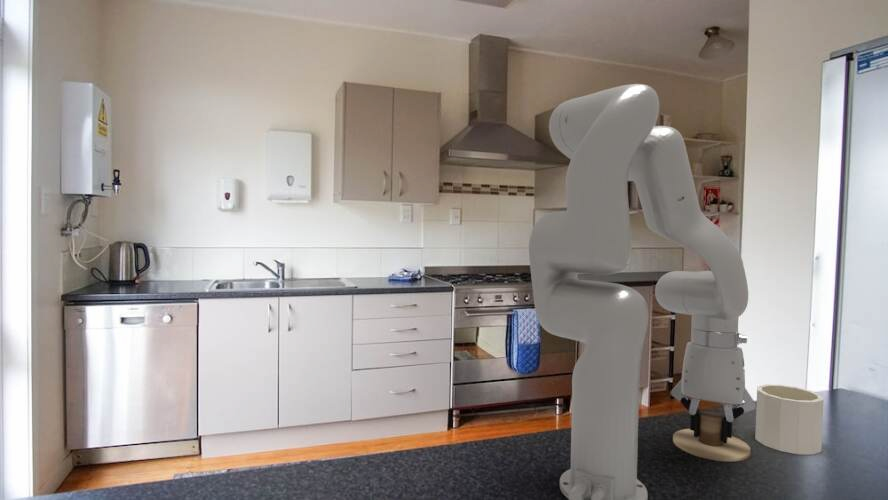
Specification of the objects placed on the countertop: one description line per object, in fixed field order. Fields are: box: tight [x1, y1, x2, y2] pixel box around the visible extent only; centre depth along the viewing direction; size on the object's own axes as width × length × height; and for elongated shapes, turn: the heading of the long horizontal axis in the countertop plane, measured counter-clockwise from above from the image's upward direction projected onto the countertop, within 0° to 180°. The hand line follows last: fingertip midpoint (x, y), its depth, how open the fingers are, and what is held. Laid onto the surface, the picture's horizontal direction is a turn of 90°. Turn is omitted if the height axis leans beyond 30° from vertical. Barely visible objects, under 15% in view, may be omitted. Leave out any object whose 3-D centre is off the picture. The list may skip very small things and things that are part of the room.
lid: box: [672, 410, 751, 462], centre depth 94 cm, size 13×13×6 cm
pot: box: [754, 384, 824, 456], centre depth 96 cm, size 10×10×10 cm
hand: (710, 436), depth 94 cm, fingers closed on lid, 4 cm apart
